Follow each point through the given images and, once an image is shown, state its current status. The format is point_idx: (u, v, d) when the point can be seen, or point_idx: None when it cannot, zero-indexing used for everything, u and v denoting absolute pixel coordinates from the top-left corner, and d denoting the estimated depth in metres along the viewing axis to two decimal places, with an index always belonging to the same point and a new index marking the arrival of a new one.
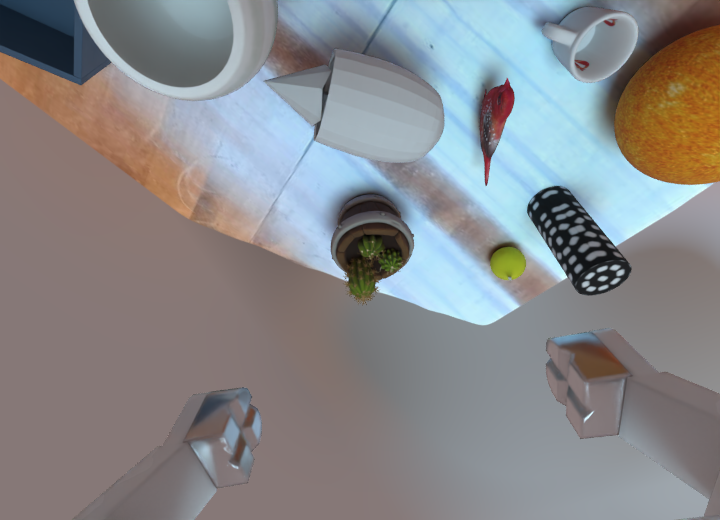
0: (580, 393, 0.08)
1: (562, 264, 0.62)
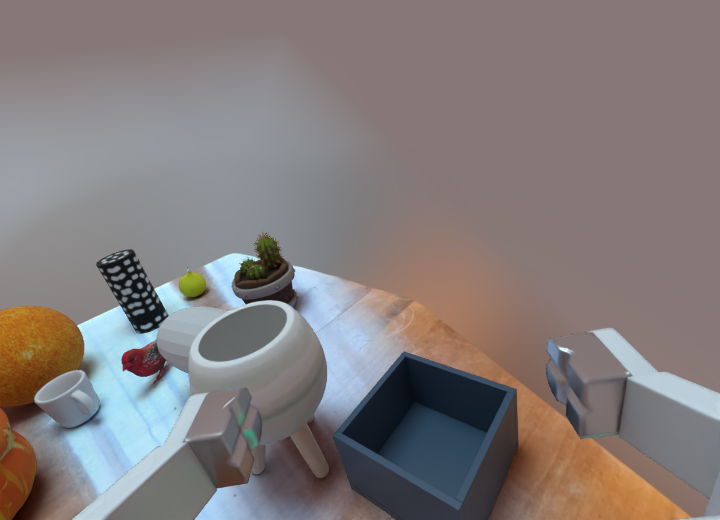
0: (580, 393, 0.08)
1: (140, 269, 0.91)
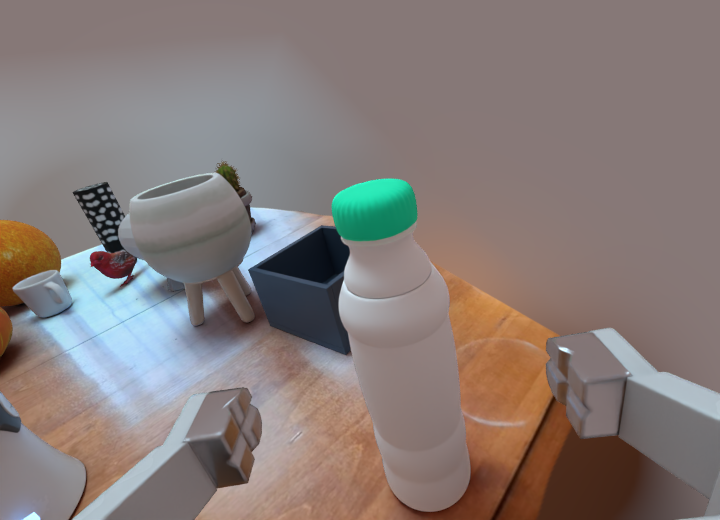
0: (580, 394, 0.08)
1: (114, 199, 1.00)
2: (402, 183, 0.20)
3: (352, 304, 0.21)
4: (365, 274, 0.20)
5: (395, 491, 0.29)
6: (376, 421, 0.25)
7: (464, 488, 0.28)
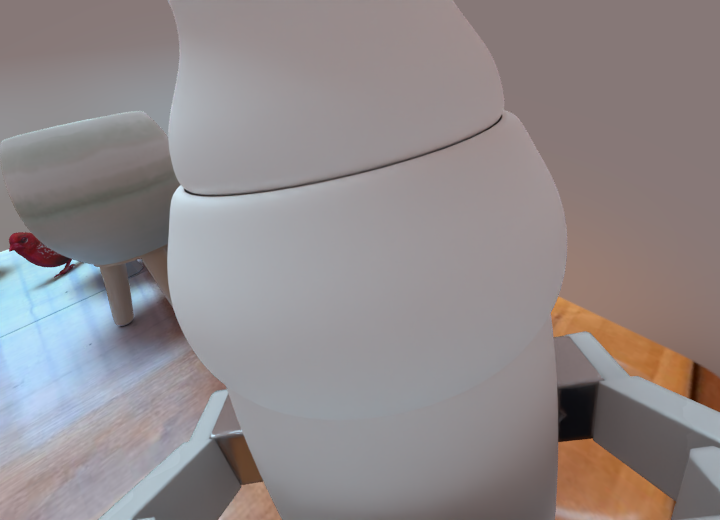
0: None
1: None
2: None
3: (176, 233, 0.05)
4: (207, 74, 0.04)
5: None
6: None
7: None
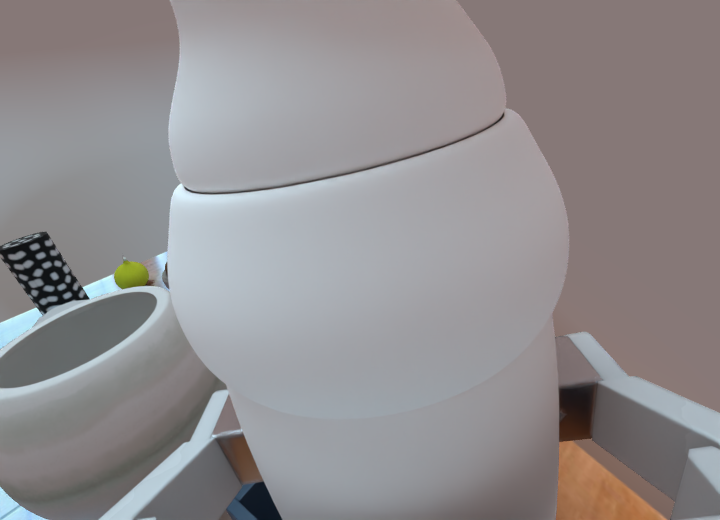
0: None
1: (56, 256, 0.74)
2: None
3: (176, 231, 0.05)
4: (207, 71, 0.04)
5: None
6: None
7: None
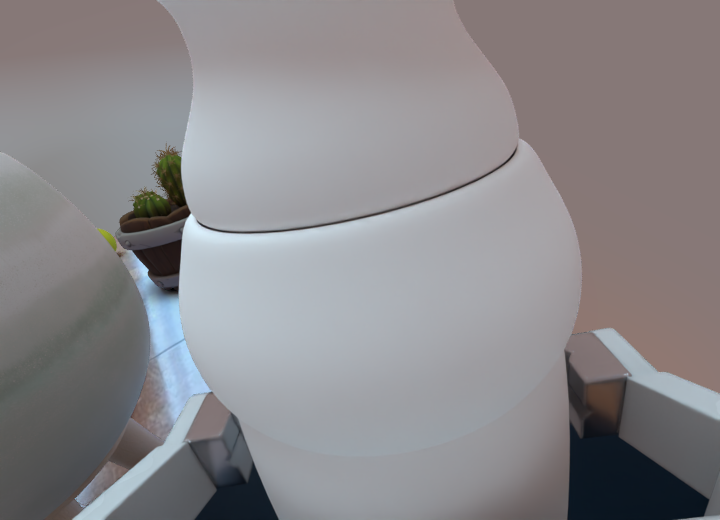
0: (580, 394, 0.08)
1: None
2: None
3: (189, 266, 0.05)
4: (222, 113, 0.04)
5: None
6: None
7: None
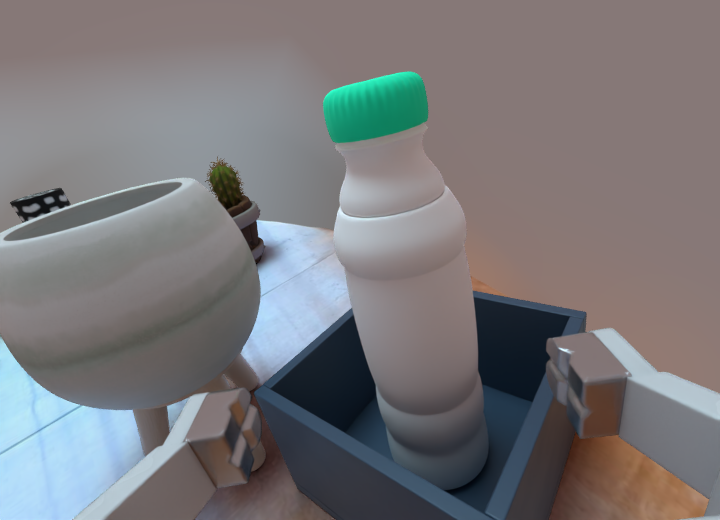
0: (581, 394, 0.08)
1: None
2: None
3: (348, 227, 0.17)
4: (364, 187, 0.17)
5: None
6: (378, 380, 0.21)
7: (481, 464, 0.24)
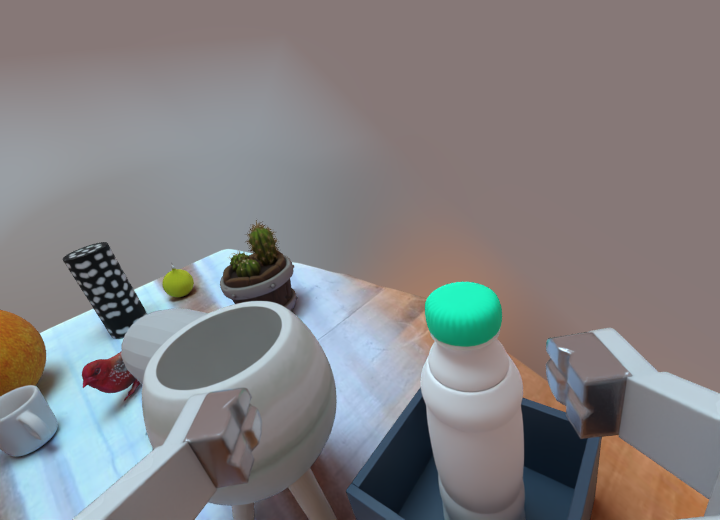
0: (580, 394, 0.08)
1: (115, 265, 0.79)
2: (490, 294, 0.23)
3: (440, 393, 0.24)
4: (455, 370, 0.23)
5: None
6: (448, 485, 0.28)
7: None
